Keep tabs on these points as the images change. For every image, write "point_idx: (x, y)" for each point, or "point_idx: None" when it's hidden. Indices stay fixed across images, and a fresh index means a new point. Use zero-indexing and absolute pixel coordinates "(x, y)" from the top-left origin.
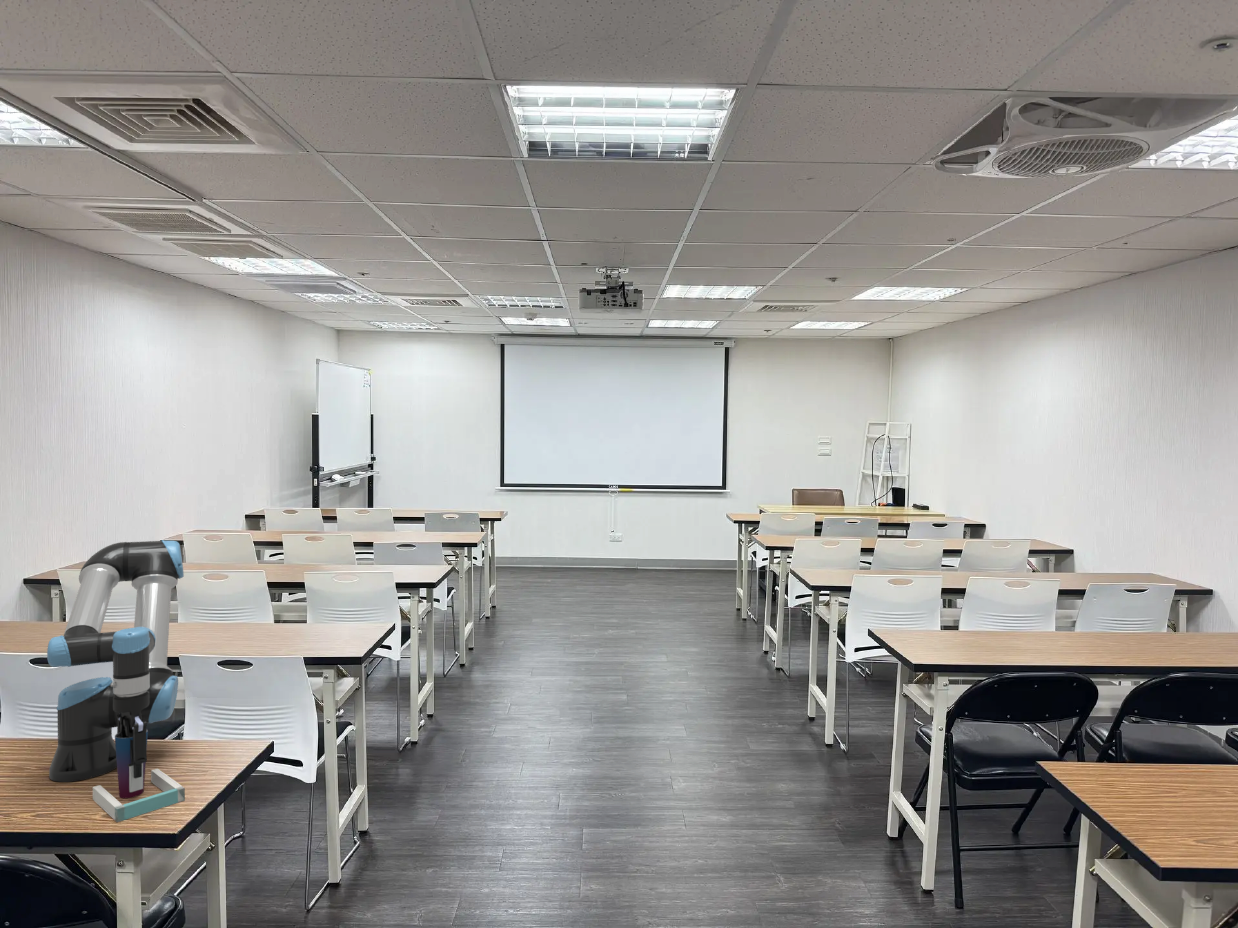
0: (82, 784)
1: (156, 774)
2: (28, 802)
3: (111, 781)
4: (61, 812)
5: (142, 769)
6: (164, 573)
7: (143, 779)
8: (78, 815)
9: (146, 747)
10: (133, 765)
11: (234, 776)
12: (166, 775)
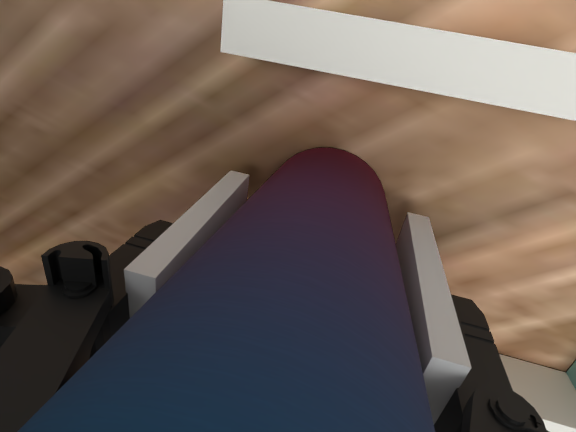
0: (31, 231)
1: (347, 76)
2: None
3: (75, 159)
4: None
5: (451, 308)
6: None
7: (381, 205)
8: None
9: (379, 411)
10: (434, 419)
11: None
12: (465, 41)
